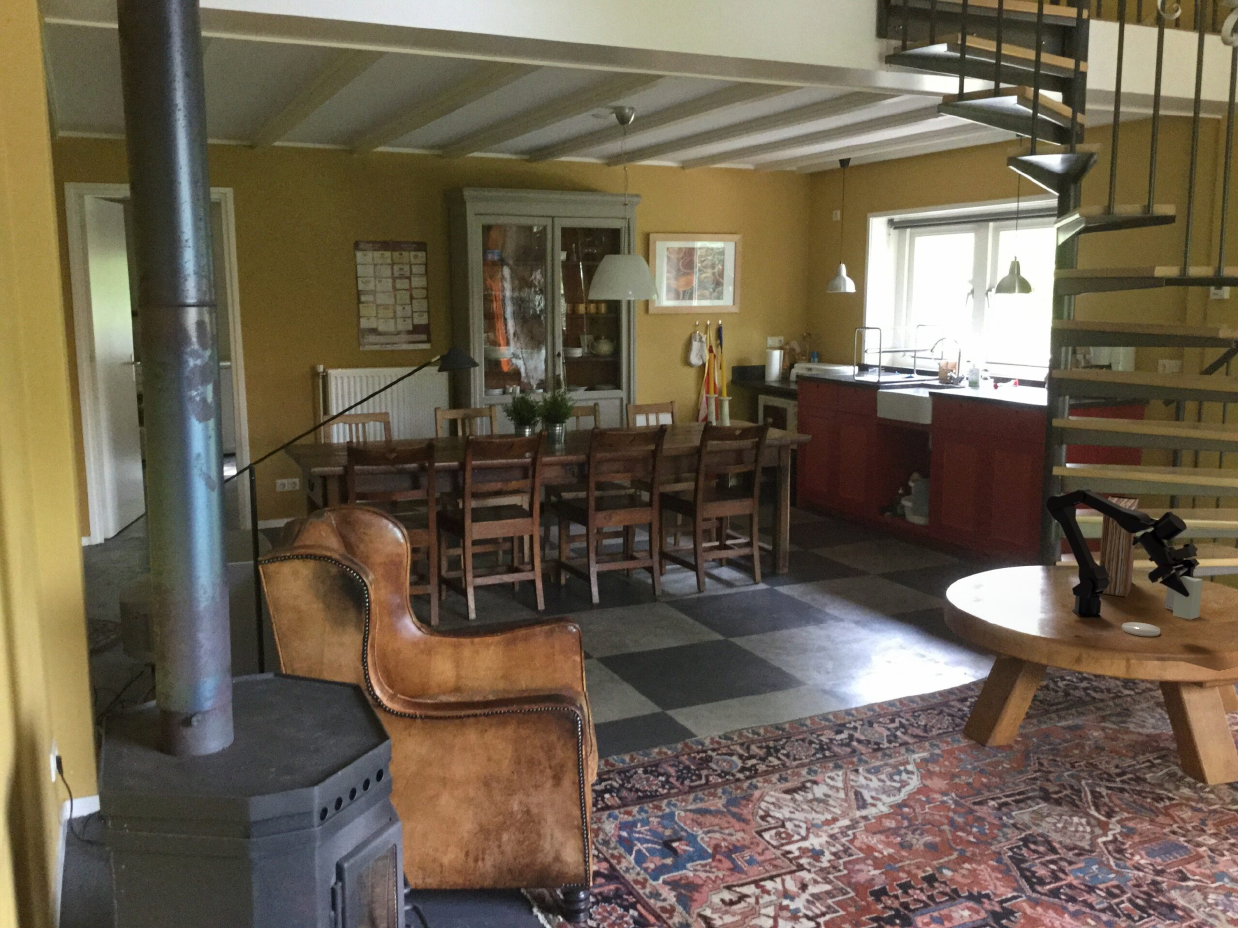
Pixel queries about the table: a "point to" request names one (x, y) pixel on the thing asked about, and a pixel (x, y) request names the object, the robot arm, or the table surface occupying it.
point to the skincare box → (1170, 598)
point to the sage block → (1188, 599)
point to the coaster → (1141, 629)
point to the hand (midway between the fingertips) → (1192, 594)
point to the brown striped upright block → (1118, 550)
